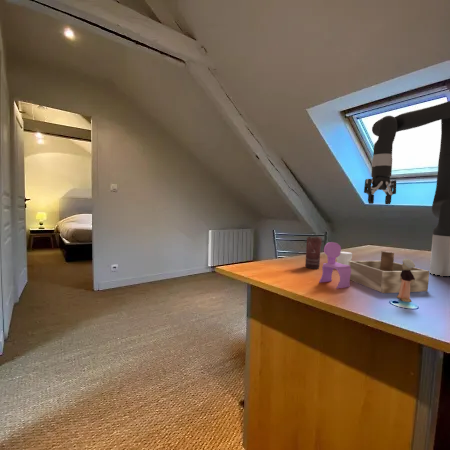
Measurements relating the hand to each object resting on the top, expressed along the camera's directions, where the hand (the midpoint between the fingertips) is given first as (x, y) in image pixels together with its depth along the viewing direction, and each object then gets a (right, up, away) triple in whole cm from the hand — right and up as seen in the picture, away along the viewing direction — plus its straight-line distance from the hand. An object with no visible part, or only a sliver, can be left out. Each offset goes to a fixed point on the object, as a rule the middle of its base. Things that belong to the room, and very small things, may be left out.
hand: (379, 203), depth 122 cm
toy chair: (-27, -31, -21) cm, 46 cm away
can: (-27, -29, +7) cm, 40 cm away
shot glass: (-11, -29, +11) cm, 33 cm away
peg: (-8, -31, -18) cm, 37 cm away
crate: (-8, -31, -18) cm, 37 cm away
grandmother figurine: (-12, -32, -36) cm, 49 cm away
